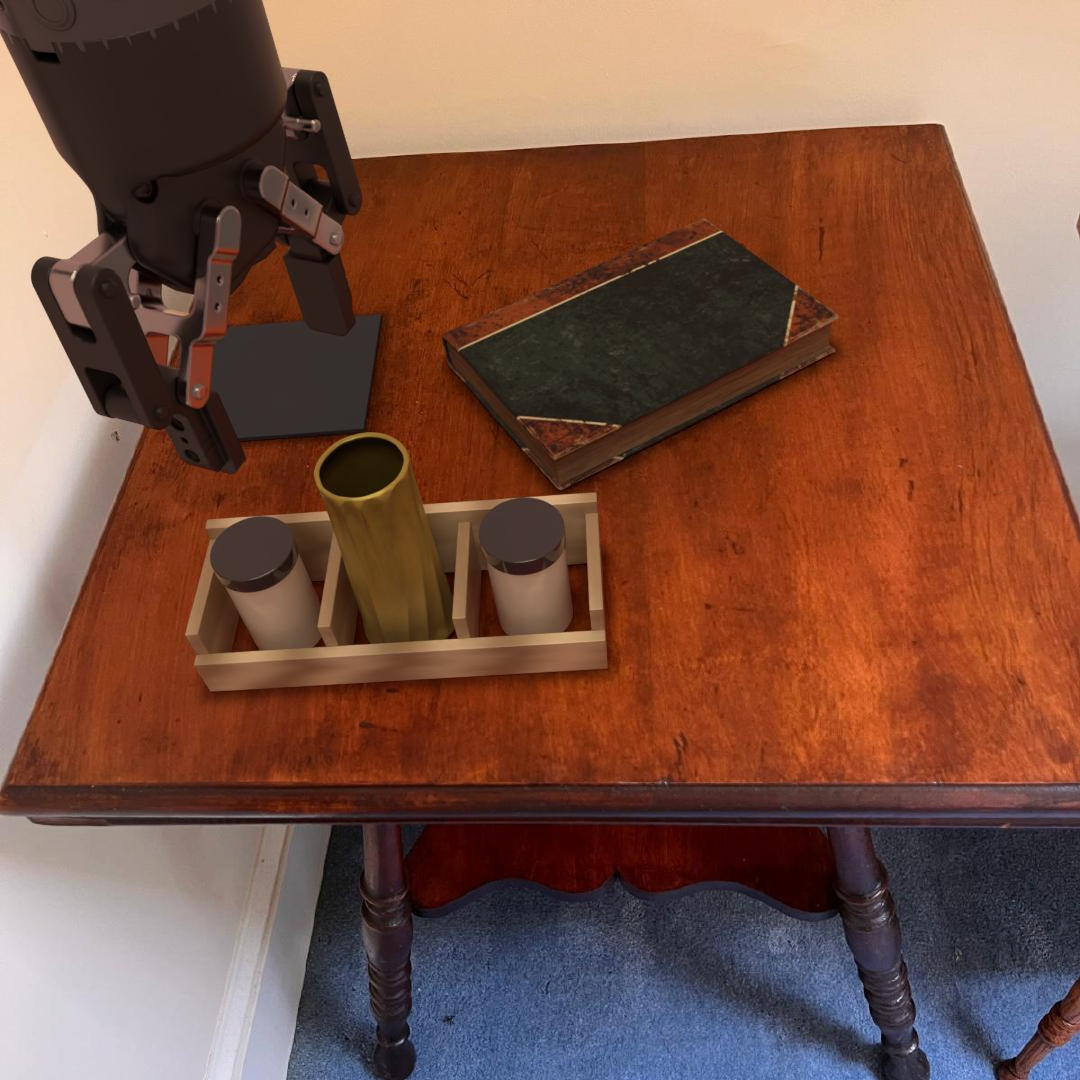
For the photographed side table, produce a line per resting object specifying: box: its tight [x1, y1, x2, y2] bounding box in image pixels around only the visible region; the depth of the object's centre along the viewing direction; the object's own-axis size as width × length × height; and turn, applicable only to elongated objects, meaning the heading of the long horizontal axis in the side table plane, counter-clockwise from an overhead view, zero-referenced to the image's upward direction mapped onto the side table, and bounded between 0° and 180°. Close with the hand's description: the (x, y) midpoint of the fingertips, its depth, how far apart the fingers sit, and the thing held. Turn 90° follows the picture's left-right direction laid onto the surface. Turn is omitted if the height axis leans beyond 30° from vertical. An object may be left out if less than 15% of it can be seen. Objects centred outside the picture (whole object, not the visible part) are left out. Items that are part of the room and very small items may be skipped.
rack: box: [184, 491, 609, 692], centre depth 64 cm, size 25×9×6 cm, turn 90°
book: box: [441, 217, 840, 492], centre depth 80 cm, size 17×4×25 cm
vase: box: [313, 431, 455, 644], centre depth 61 cm, size 6×6×14 cm
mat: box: [211, 313, 383, 443], centre depth 83 cm, size 14×14×1 cm
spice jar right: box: [479, 496, 574, 636], centre depth 63 cm, size 5×5×8 cm
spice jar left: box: [210, 515, 323, 651], centre depth 64 cm, size 5×5×8 cm
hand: (279, 393), depth 42 cm, fingers open, 8 cm apart
